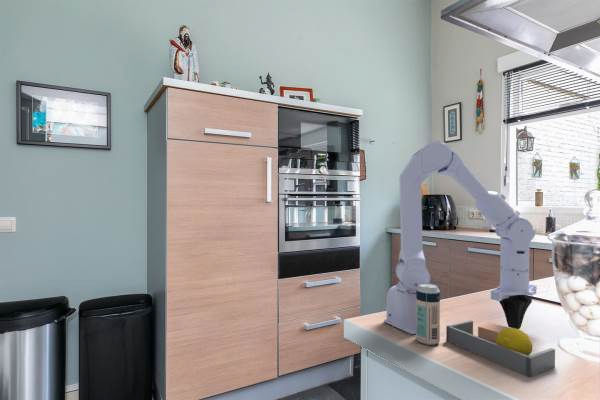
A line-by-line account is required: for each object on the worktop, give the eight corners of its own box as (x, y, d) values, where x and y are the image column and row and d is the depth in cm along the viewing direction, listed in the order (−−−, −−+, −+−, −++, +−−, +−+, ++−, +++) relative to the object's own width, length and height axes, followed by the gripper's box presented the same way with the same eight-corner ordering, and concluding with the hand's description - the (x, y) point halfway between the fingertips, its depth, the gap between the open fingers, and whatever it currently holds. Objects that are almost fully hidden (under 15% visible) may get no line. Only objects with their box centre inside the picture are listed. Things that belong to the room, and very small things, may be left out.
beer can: (441, 340, 74) (441, 284, 74) (438, 348, 70) (438, 289, 70) (417, 335, 77) (418, 282, 77) (413, 343, 72) (414, 286, 72)
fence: (446, 340, 74) (446, 325, 74) (470, 334, 78) (470, 320, 78) (529, 376, 59) (529, 358, 59) (554, 366, 62) (555, 349, 62)
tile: (478, 337, 77) (478, 326, 77) (489, 332, 80) (489, 322, 80) (501, 345, 73) (501, 333, 73) (512, 340, 75) (512, 328, 76)
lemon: (518, 324, 69) (501, 318, 65) (545, 346, 65) (529, 341, 61) (501, 345, 70) (483, 340, 66) (526, 367, 66) (509, 364, 62)
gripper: (513, 275, 73) (513, 339, 72) (550, 269, 79) (550, 328, 79) (482, 269, 79) (481, 328, 79) (519, 264, 86) (518, 318, 85)
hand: (514, 327), depth 79 cm, fingers closed
